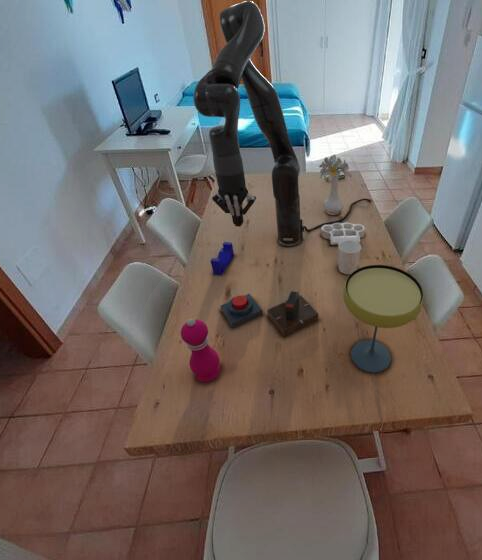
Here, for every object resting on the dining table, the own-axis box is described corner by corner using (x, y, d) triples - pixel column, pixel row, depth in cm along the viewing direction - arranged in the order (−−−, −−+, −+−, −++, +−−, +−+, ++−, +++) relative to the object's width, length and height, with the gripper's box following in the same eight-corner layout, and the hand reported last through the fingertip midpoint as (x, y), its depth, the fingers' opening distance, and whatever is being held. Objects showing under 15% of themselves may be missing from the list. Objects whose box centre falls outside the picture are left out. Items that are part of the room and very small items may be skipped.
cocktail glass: (358, 395, 81) (370, 327, 65) (327, 342, 94) (330, 274, 78) (417, 370, 87) (442, 302, 71) (381, 323, 100) (394, 257, 84)
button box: (250, 298, 108) (248, 289, 105) (262, 314, 102) (261, 305, 100) (221, 310, 104) (219, 301, 101) (232, 328, 98) (230, 319, 95)
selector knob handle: (291, 303, 102) (290, 290, 99) (299, 304, 102) (298, 291, 98) (285, 319, 97) (284, 306, 93) (293, 320, 96) (293, 307, 93)
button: (243, 297, 103) (243, 293, 102) (250, 305, 100) (249, 301, 99) (230, 303, 101) (229, 298, 100) (236, 311, 98) (235, 307, 97)
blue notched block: (223, 254, 127) (220, 241, 123) (234, 255, 126) (231, 242, 122) (209, 273, 118) (206, 259, 114) (221, 275, 117) (218, 261, 113)
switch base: (299, 300, 107) (299, 293, 105) (319, 321, 100) (319, 314, 98) (267, 315, 102) (266, 308, 100) (285, 338, 95) (284, 331, 93)
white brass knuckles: (322, 247, 131) (320, 228, 142) (367, 246, 132) (361, 227, 143) (323, 240, 129) (320, 221, 140) (368, 239, 129) (362, 220, 141)
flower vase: (340, 201, 161) (343, 149, 145) (350, 220, 147) (355, 164, 131) (314, 203, 159) (314, 151, 143) (322, 222, 145) (323, 167, 129)
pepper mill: (196, 361, 89) (177, 309, 76) (223, 359, 89) (209, 307, 76) (191, 385, 83) (169, 333, 70) (220, 383, 84) (204, 331, 71)
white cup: (361, 265, 122) (364, 243, 115) (354, 278, 116) (356, 255, 110) (341, 260, 124) (343, 237, 118) (333, 272, 119) (334, 249, 112)
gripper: (257, 165, 90) (263, 220, 101) (211, 162, 92) (222, 217, 103) (248, 176, 84) (256, 233, 96) (200, 172, 86) (213, 229, 97)
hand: (238, 225), depth 99 cm, fingers closed
